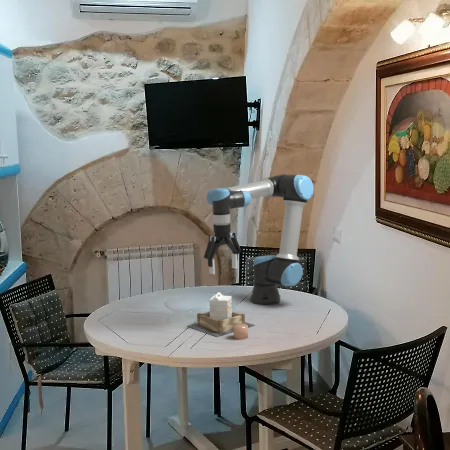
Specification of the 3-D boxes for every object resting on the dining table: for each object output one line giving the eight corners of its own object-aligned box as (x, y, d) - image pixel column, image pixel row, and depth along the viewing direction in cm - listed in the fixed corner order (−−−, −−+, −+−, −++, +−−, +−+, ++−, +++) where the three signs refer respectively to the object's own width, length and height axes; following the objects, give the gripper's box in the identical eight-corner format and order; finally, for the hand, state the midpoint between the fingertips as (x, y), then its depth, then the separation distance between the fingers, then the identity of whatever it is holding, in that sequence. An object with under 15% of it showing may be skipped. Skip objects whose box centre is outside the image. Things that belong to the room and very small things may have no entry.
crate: (224, 316, 282) (224, 304, 281) (254, 325, 267) (254, 313, 266) (187, 326, 267) (187, 314, 267) (217, 337, 253) (216, 324, 252)
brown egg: (241, 334, 256) (240, 322, 255) (250, 337, 252) (250, 325, 251) (230, 337, 252) (230, 325, 251) (240, 340, 248) (240, 328, 247)
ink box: (228, 326, 262) (227, 296, 260) (209, 325, 264) (208, 296, 262) (232, 321, 270) (232, 291, 268) (214, 320, 272) (213, 291, 270)
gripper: (236, 219, 276) (238, 264, 280) (194, 226, 260) (196, 274, 263) (248, 220, 271) (249, 267, 274) (205, 228, 254) (208, 277, 258)
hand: (223, 271), depth 269 cm, fingers open, 13 cm apart
